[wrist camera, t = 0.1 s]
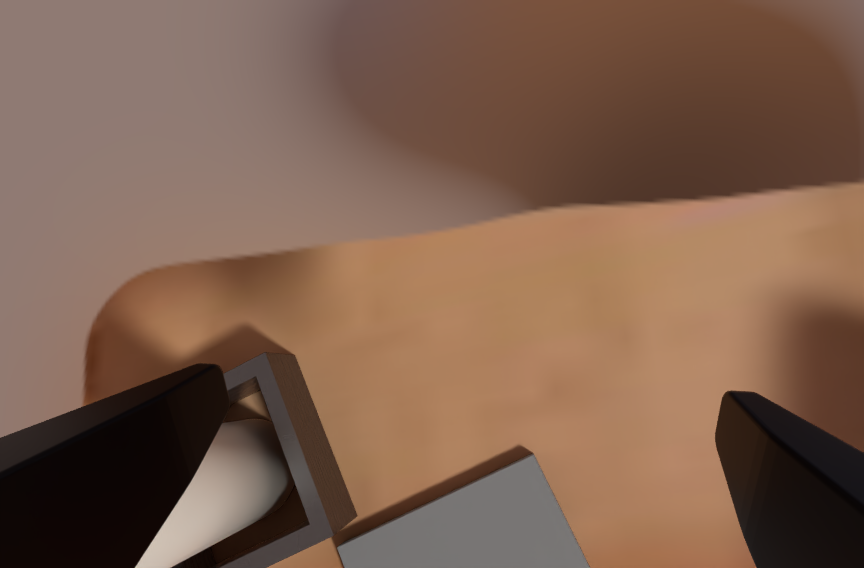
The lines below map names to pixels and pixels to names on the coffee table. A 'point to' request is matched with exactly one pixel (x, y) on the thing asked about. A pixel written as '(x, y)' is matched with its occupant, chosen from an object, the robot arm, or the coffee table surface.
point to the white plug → (225, 492)
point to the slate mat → (476, 528)
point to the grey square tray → (289, 462)
